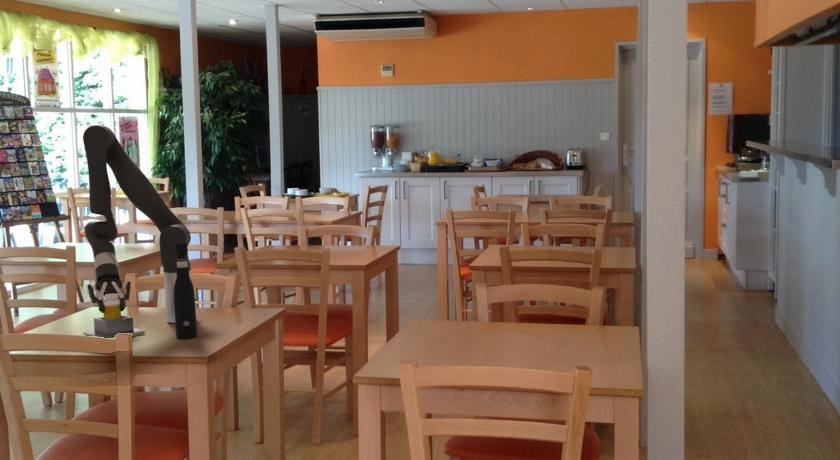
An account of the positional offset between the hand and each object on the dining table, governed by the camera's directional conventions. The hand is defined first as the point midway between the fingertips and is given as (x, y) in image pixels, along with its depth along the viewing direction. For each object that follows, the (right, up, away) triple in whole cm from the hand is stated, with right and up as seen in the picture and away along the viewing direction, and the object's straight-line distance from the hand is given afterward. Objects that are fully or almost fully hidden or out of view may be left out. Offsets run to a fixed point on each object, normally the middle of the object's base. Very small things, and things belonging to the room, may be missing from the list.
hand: (112, 310), depth 315 cm
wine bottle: (+25, -8, -5) cm, 27 cm away
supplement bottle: (-1, -5, +2) cm, 5 cm away
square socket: (0, -8, +2) cm, 9 cm away
